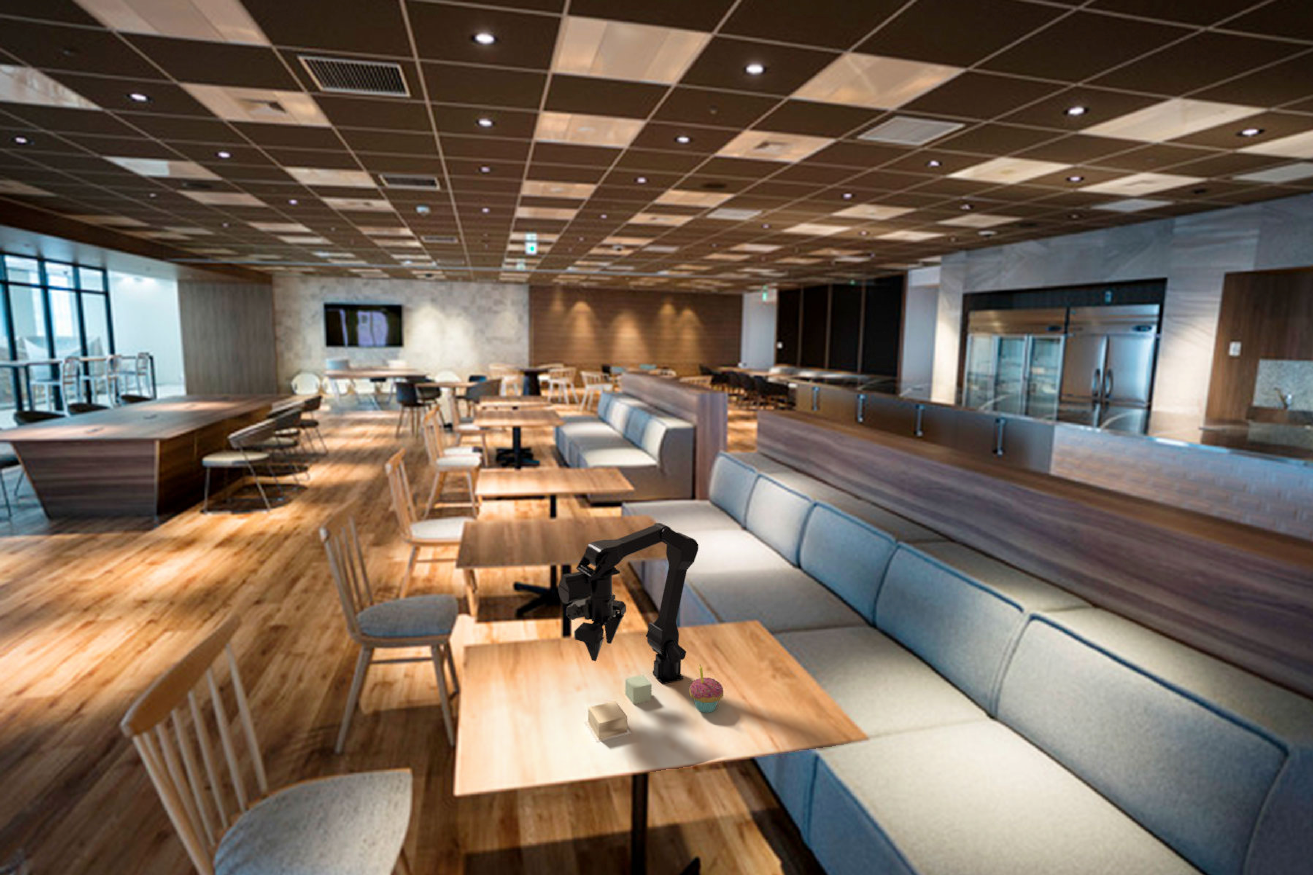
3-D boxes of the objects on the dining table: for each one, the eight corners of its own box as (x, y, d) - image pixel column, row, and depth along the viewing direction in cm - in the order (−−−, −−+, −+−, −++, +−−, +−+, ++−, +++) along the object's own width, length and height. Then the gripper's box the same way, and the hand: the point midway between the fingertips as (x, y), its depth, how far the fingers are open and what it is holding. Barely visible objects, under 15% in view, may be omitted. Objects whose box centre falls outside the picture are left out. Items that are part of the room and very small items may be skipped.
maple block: (615, 716, 160) (615, 700, 160) (627, 731, 154) (627, 716, 153) (588, 722, 157) (588, 707, 157) (598, 739, 151) (598, 723, 150)
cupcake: (699, 720, 160) (701, 674, 158) (682, 702, 168) (683, 658, 166) (729, 711, 164) (731, 666, 162) (711, 694, 172) (712, 651, 170)
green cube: (642, 692, 172) (643, 674, 171) (651, 702, 168) (651, 683, 167) (625, 696, 170) (625, 678, 169) (633, 706, 166) (633, 688, 165)
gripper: (587, 575, 175) (588, 630, 178) (553, 603, 158) (555, 664, 161) (626, 580, 171) (627, 636, 174) (596, 610, 154) (597, 672, 157)
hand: (601, 651), depth 167 cm, fingers open, 9 cm apart
